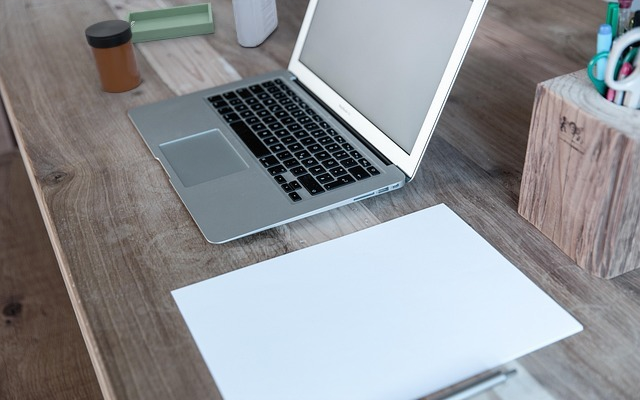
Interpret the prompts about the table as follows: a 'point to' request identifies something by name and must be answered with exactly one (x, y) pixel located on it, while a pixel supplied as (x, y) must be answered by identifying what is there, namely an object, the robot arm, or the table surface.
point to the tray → (171, 22)
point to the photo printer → (254, 20)
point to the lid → (108, 33)
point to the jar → (117, 67)
